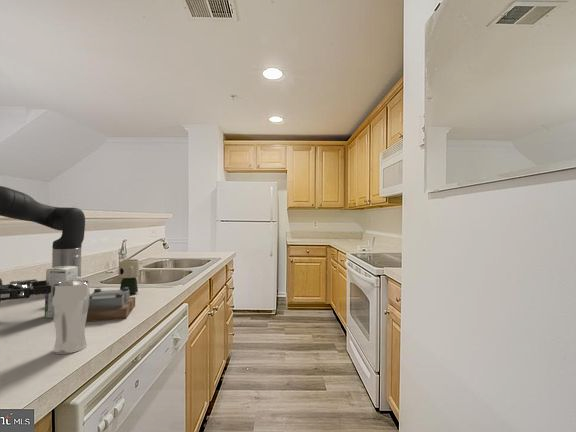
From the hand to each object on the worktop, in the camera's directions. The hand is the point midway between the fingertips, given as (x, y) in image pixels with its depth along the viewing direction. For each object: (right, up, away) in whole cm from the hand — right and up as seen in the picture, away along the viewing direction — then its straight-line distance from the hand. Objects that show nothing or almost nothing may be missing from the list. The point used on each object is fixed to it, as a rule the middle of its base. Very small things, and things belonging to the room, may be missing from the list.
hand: (52, 286), depth 89 cm
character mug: (+9, -9, +26) cm, 29 cm away
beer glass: (+21, -9, -21) cm, 31 cm away
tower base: (+15, -9, +3) cm, 18 cm away
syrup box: (+2, -9, +1) cm, 9 cm away
